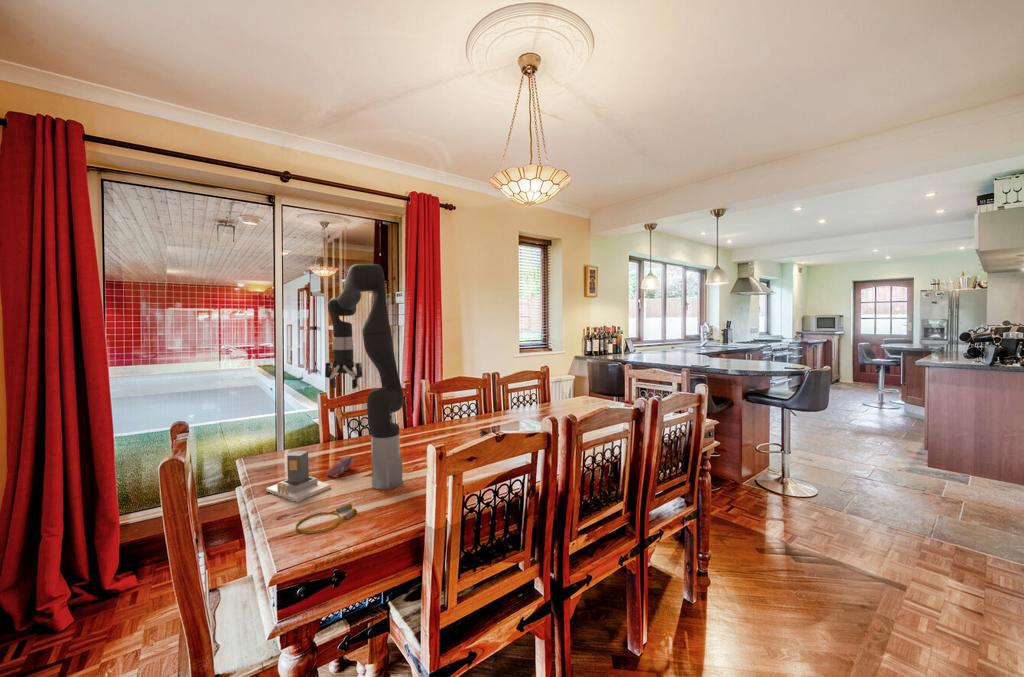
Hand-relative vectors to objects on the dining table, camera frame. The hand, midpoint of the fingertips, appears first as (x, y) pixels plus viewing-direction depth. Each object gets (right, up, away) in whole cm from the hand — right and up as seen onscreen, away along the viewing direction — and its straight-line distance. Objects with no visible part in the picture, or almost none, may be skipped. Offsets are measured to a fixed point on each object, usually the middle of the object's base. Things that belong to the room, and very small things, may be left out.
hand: (344, 388), depth 164 cm
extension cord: (+16, -32, -50) cm, 62 cm away
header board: (-3, -30, -30) cm, 42 cm away
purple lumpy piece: (+5, -29, -15) cm, 33 cm away
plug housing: (-3, -29, -30) cm, 42 cm away
